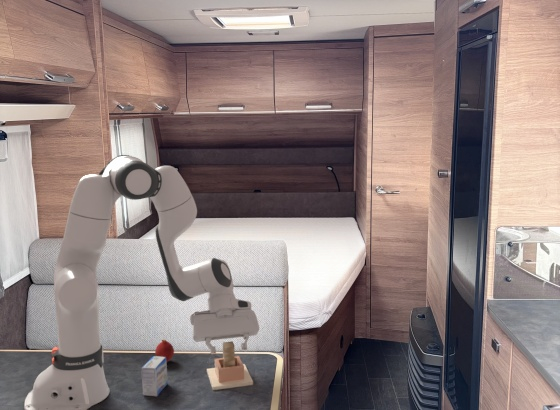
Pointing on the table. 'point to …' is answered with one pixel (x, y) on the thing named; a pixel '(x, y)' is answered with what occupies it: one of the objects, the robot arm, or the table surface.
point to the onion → (165, 350)
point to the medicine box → (154, 376)
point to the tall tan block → (228, 354)
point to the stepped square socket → (229, 375)
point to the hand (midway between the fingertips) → (229, 351)
